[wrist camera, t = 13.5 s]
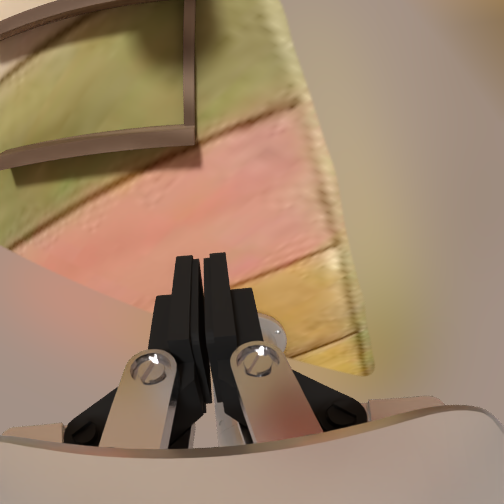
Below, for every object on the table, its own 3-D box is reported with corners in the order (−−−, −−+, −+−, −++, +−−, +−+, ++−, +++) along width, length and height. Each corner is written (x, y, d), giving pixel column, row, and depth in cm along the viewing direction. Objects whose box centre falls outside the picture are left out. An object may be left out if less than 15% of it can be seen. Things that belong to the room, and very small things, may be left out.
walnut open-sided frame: (195, 138, 30) (194, 145, 28) (8, 162, 28) (-5, 171, 25) (196, -15, 22) (195, -23, 19) (-3, 29, 19) (-17, 29, 17)
